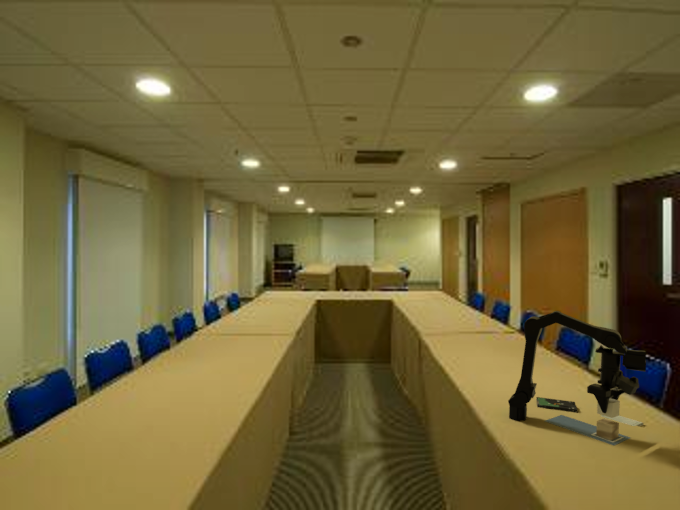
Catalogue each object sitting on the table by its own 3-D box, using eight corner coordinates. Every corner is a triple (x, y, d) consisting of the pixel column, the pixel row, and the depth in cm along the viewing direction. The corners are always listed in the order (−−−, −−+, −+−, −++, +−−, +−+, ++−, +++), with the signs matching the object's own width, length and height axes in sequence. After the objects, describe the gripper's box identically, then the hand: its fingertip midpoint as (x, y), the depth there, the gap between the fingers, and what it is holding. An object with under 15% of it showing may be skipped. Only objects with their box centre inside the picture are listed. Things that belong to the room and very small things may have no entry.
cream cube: (612, 418, 161) (612, 403, 161) (597, 413, 165) (597, 399, 165) (619, 415, 164) (619, 400, 164) (604, 410, 168) (604, 396, 168)
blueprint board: (613, 448, 157) (614, 445, 157) (543, 423, 178) (543, 420, 178) (630, 440, 164) (630, 437, 164) (561, 417, 185) (561, 414, 185)
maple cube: (611, 440, 162) (611, 425, 161) (596, 435, 166) (596, 421, 165) (618, 437, 164) (619, 422, 164) (603, 432, 168) (604, 418, 168)
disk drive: (574, 408, 198) (535, 402, 203) (574, 401, 198) (536, 396, 202) (577, 416, 188) (537, 410, 193) (578, 409, 188) (537, 403, 193)
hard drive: (598, 416, 185) (633, 426, 174) (609, 412, 189) (643, 421, 179) (598, 420, 185) (633, 431, 174) (609, 416, 189) (643, 426, 179)
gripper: (622, 376, 152) (619, 424, 153) (648, 368, 163) (645, 413, 164) (587, 368, 161) (585, 413, 162) (614, 361, 172) (612, 404, 173)
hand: (608, 411), depth 165 cm, fingers closed on cream cube, 5 cm apart
